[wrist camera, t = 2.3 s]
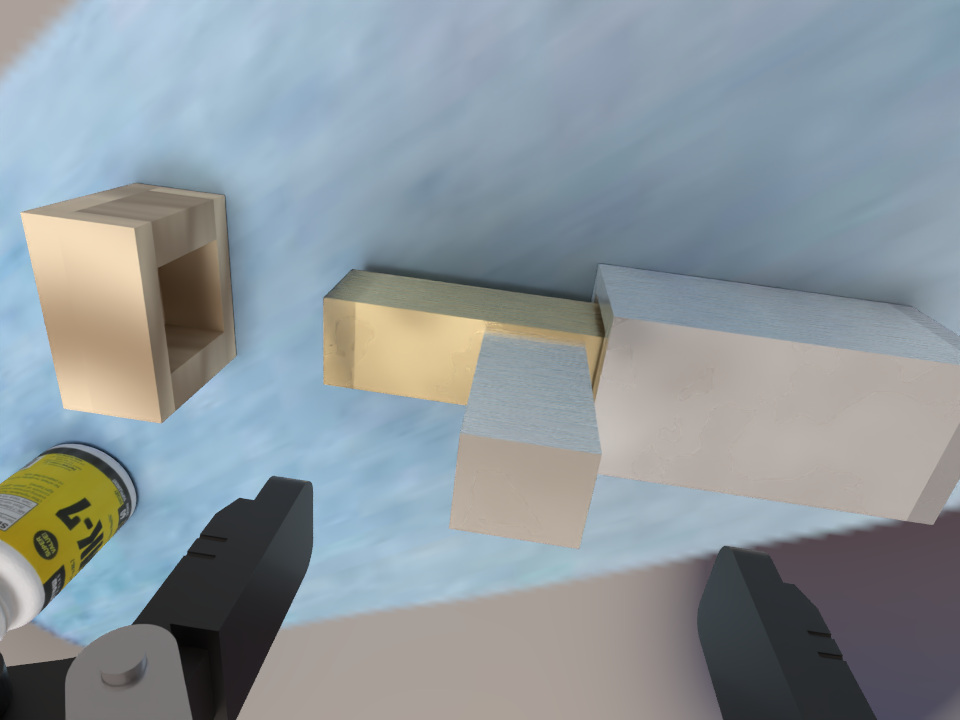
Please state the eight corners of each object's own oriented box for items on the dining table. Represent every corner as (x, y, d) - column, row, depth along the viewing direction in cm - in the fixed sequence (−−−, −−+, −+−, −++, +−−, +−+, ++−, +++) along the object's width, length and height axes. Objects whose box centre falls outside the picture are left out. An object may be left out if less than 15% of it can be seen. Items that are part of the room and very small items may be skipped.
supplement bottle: (147, 530, 29) (4, 692, 21) (53, 516, 29) (-122, 671, 21) (131, 447, 27) (-34, 593, 19) (30, 432, 27) (-173, 572, 19)
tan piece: (352, 269, 21) (229, 390, 13) (876, 342, 20) (1100, 521, 12) (350, 346, 22) (238, 502, 14) (842, 418, 21) (1024, 626, 13)
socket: (135, 182, 21) (20, 212, 17) (224, 195, 21) (134, 227, 17) (156, 344, 24) (64, 408, 19) (236, 356, 24) (161, 423, 19)
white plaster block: (598, 263, 21) (614, 316, 16) (911, 306, 21) (1019, 373, 16) (572, 392, 23) (579, 471, 19) (853, 433, 23) (933, 524, 18)
